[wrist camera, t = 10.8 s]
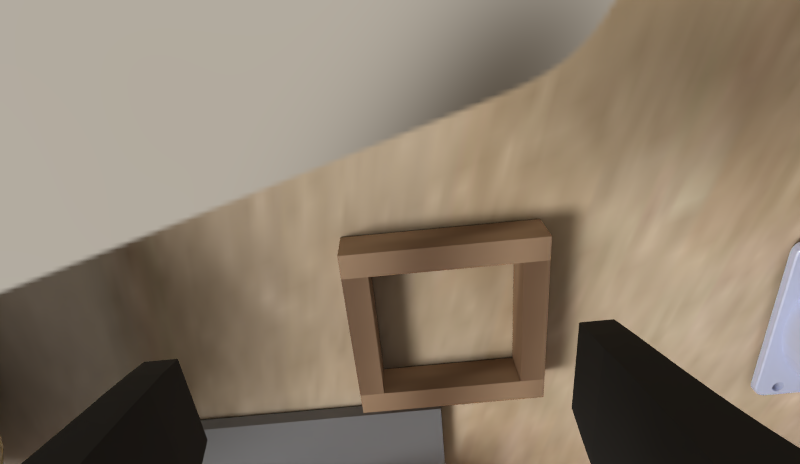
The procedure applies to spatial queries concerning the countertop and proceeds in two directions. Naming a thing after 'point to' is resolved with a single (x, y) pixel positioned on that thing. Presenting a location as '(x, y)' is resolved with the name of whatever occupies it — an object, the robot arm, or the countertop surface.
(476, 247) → the square wooden frame
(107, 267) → the countertop surface
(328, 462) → the rubber mat
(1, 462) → the cantaloupe
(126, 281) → the countertop surface
